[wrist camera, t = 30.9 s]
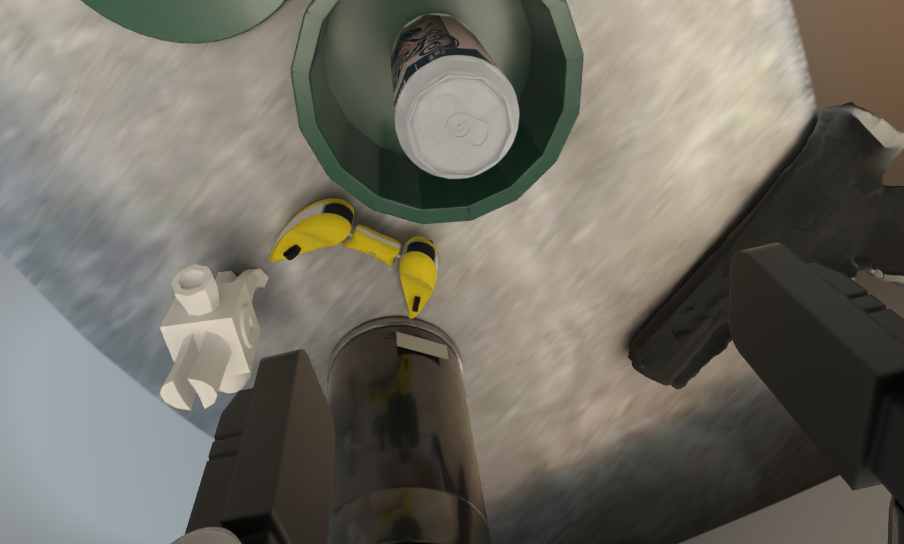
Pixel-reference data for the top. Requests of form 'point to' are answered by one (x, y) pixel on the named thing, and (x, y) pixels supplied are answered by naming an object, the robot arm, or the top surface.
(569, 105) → the pot
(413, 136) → the beer can
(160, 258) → the top surface
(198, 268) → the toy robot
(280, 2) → the lid
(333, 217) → the yellow curved piece
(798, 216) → the handgun
